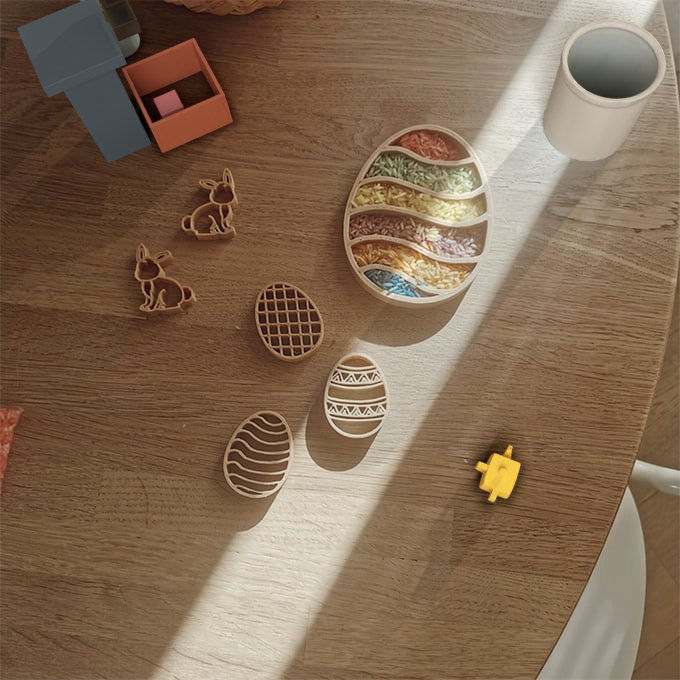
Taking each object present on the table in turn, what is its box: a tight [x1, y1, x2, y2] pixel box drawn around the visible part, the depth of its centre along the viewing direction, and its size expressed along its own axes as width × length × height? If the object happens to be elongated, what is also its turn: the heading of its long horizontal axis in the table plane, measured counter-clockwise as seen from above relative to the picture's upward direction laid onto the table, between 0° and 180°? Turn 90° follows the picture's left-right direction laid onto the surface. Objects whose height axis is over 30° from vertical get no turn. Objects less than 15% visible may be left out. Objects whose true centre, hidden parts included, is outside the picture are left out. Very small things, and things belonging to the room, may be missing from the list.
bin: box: [121, 37, 234, 154], centre depth 124 cm, size 13×13×8 cm
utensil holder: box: [542, 18, 667, 162], centre depth 115 cm, size 15×15×18 cm
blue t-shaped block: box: [16, 0, 152, 164], centre depth 116 cm, size 12×12×24 cm
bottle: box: [79, 0, 141, 59], centre depth 127 cm, size 7×7×15 cm
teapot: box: [474, 444, 521, 503], centre depth 102 cm, size 8×6×5 cm
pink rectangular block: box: [153, 89, 185, 119], centre depth 126 cm, size 4×4×4 cm
